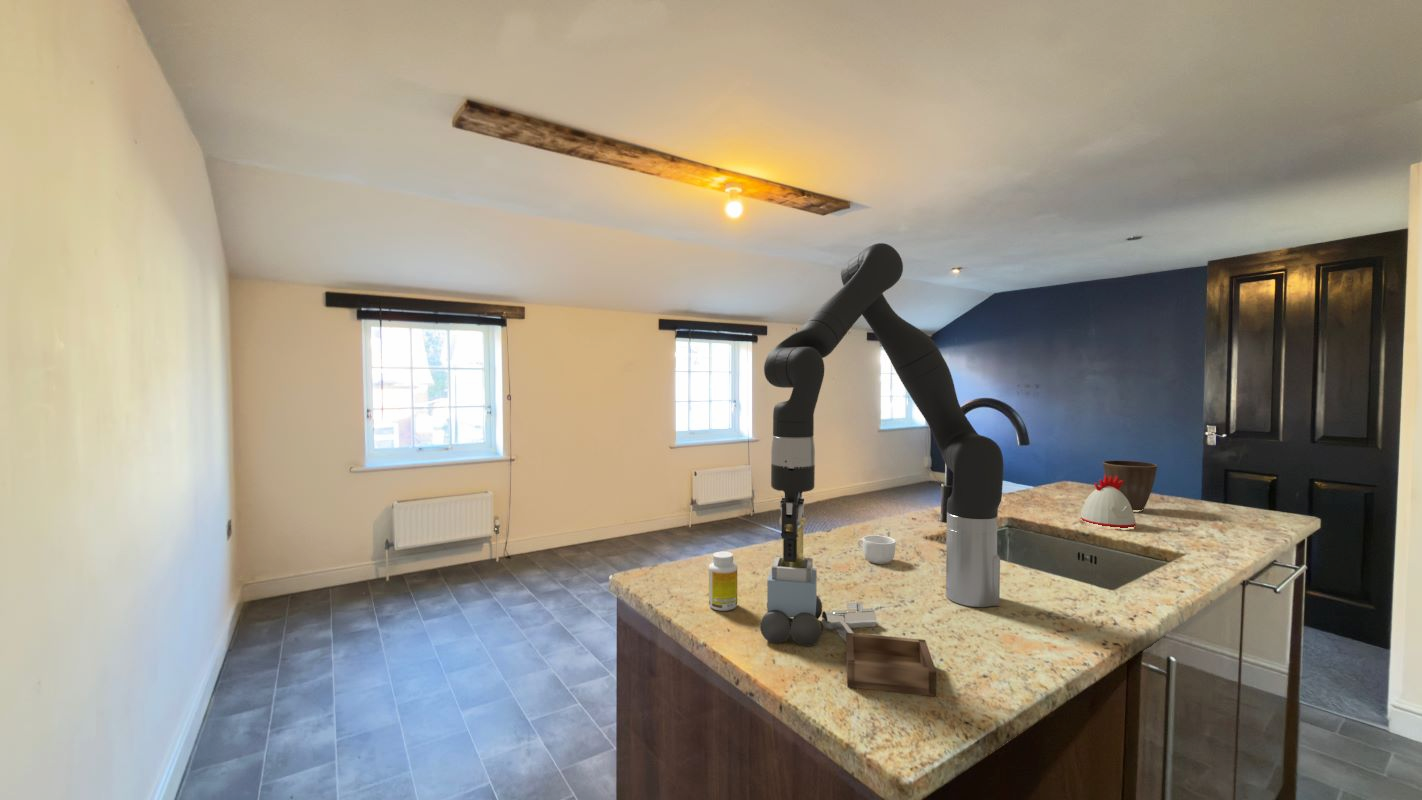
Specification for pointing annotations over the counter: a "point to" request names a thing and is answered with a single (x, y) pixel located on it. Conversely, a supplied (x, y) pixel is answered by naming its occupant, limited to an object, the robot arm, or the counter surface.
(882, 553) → the teacup
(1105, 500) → the kitchen timer
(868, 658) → the tray
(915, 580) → the counter surface
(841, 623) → the grey metal piece
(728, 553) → the supplement bottle
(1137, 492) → the plant pot
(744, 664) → the counter surface
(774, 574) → the trolley
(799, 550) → the stop pin
